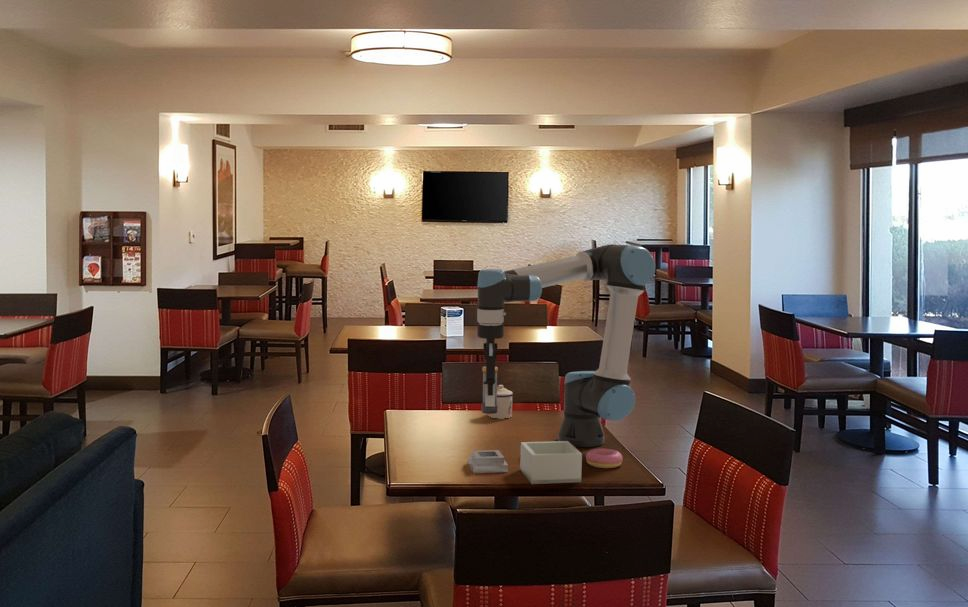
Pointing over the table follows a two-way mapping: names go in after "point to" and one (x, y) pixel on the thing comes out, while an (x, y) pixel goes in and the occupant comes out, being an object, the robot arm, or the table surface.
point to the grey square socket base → (487, 462)
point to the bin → (550, 462)
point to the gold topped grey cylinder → (484, 408)
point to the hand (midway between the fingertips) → (489, 403)
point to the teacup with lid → (503, 403)
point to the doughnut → (604, 458)
